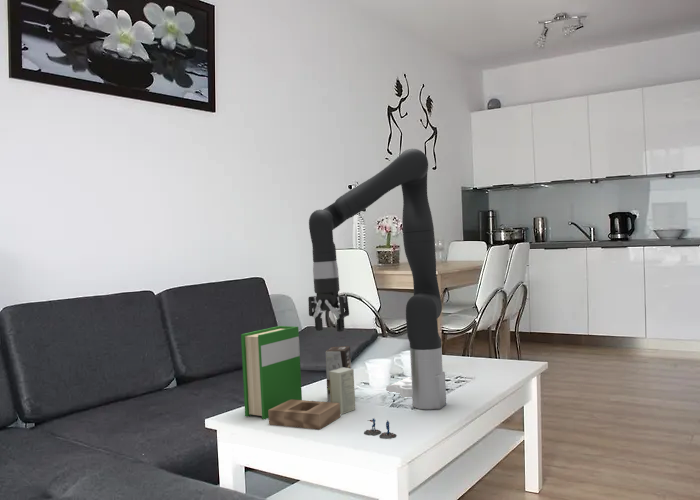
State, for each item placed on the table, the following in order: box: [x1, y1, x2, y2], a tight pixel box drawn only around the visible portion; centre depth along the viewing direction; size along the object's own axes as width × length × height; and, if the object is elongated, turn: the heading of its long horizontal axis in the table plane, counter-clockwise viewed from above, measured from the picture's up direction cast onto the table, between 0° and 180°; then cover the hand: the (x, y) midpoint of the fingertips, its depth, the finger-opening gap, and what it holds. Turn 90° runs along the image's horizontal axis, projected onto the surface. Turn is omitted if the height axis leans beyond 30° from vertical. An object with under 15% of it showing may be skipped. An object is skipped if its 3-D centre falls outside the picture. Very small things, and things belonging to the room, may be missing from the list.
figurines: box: [363, 417, 397, 440], centre depth 159 cm, size 10×5×4 cm, turn 48°
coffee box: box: [325, 345, 352, 402], centre depth 196 cm, size 9×6×16 cm
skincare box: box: [329, 367, 356, 415], centre depth 182 cm, size 6×4×12 cm
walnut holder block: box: [268, 399, 341, 430], centre depth 174 cm, size 16×12×4 cm
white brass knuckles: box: [385, 376, 412, 397], centre depth 202 cm, size 3×18×15 cm
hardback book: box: [240, 325, 303, 420], centre depth 187 cm, size 18×7×24 cm, turn 147°
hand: (329, 330), depth 187 cm, fingers open, 8 cm apart
